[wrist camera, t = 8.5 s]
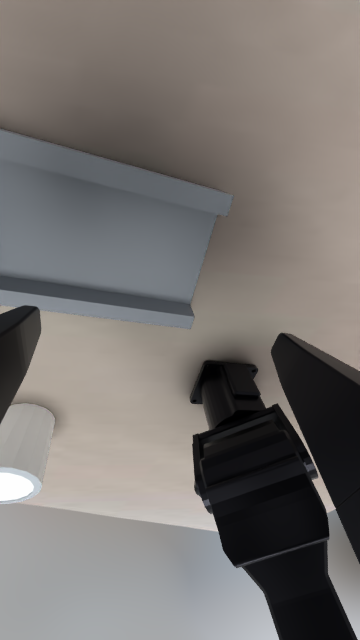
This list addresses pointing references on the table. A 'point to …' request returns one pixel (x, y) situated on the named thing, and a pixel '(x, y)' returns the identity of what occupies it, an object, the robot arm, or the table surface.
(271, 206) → the table surface
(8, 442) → the shot glass
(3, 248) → the track
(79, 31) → the table surface
